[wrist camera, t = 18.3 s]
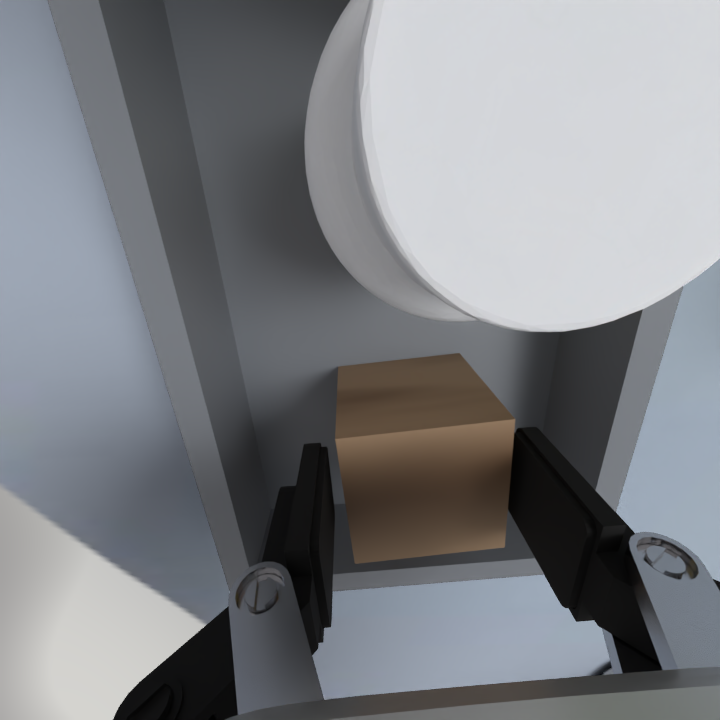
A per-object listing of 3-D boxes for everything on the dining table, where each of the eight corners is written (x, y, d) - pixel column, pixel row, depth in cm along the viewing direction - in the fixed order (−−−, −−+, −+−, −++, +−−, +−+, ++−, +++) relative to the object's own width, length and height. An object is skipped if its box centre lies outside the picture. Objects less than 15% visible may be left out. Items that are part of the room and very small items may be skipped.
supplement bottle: (335, 74, 10) (284, -796, 1) (504, 109, 11) (1230, -370, 2) (317, 257, 12) (248, 365, 3) (460, 279, 13) (718, 422, 4)
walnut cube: (458, 452, 16) (504, 547, 11) (351, 464, 16) (354, 563, 11) (459, 353, 14) (515, 419, 9) (338, 366, 14) (334, 439, 9)
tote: (543, 494, 18) (598, 570, 14) (256, 516, 18) (232, 599, 14) (658, -116, 10) (871, -344, 6) (115, -88, 9) (-47, -303, 5)
